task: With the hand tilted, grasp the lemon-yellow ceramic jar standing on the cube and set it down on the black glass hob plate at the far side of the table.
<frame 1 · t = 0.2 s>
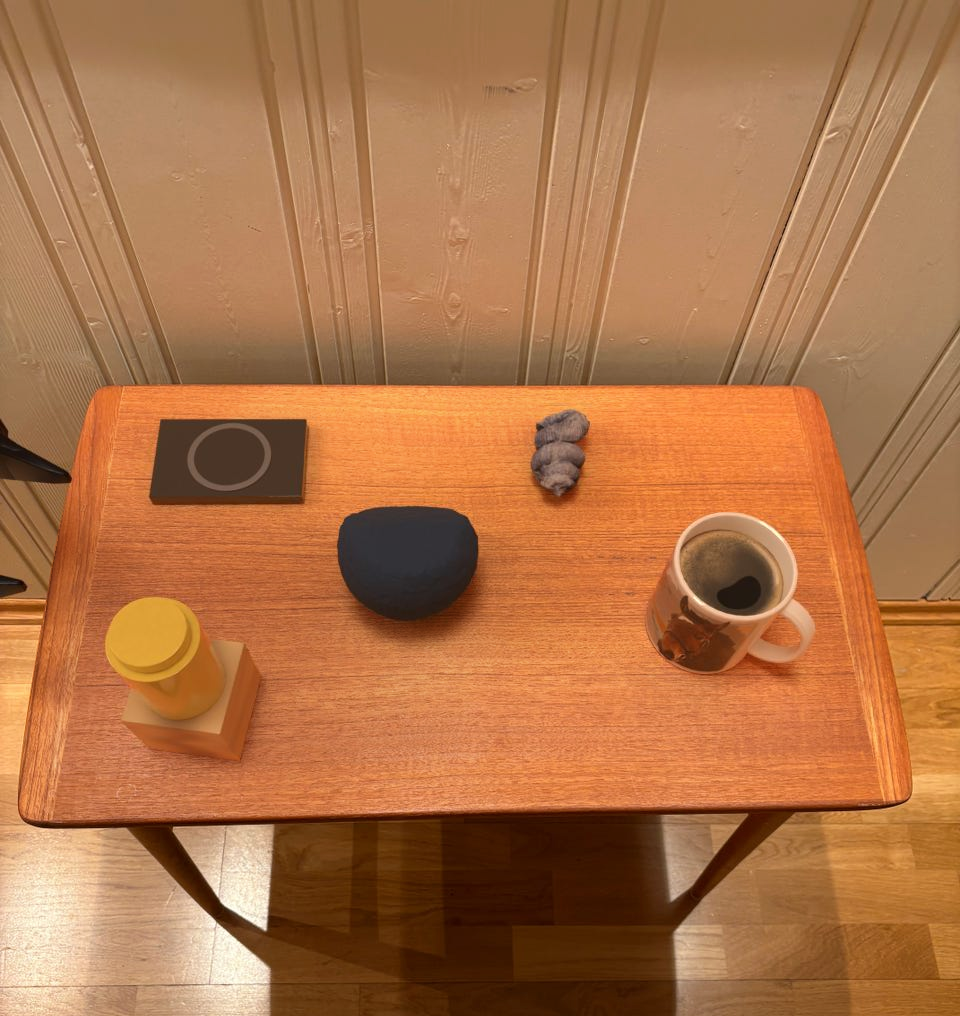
hand: (48, 530, 62), 15 cm above the table, tool horizontal, fingers open, 9 cm apart
jar: (183, 680, 67), point 7 cm above the table, touching cube
mug: (706, 635, 78), on the table
seashell: (557, 467, 85), on the table
decorative stone: (411, 585, 79), on the table
cube: (206, 711, 73), on the table
hob: (232, 464, 83), on the table
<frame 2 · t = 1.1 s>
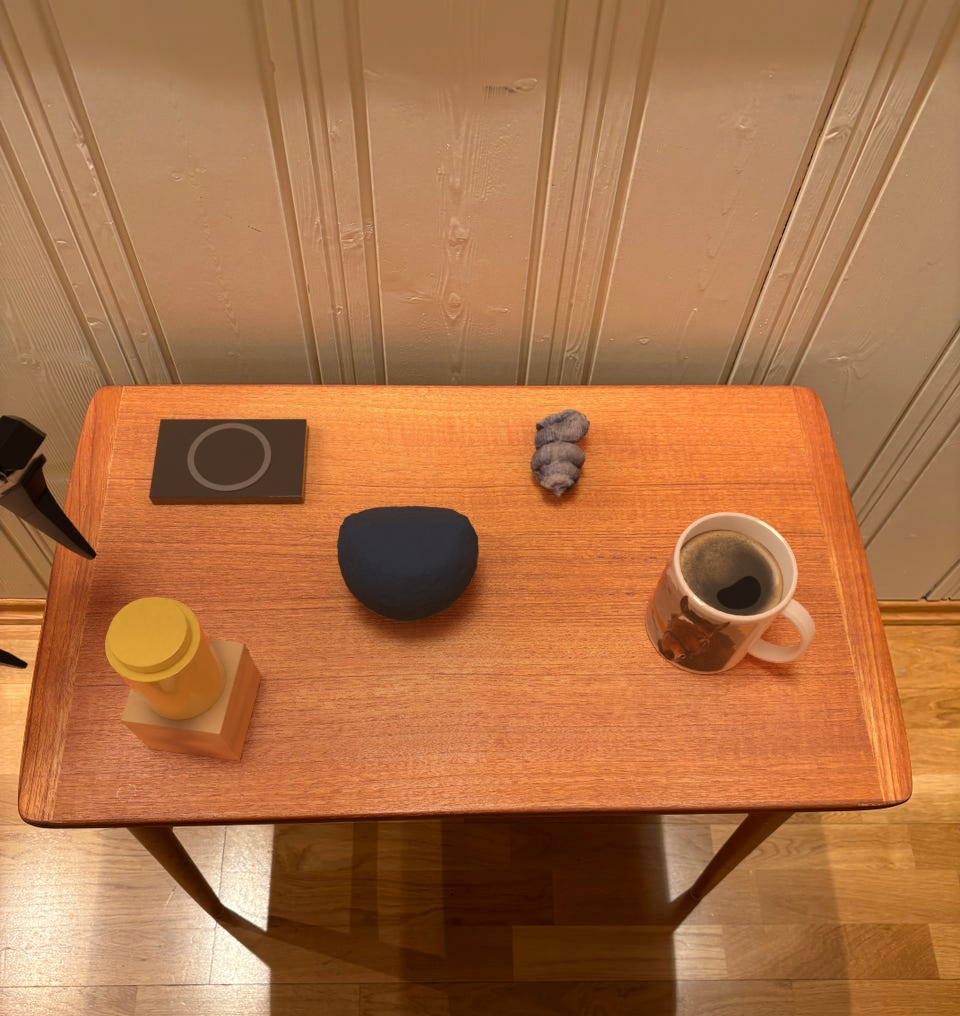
hand: (60, 610, 61), 14 cm above the table, tool tilted 45°, fingers open, 9 cm apart
nothing on the table moved.
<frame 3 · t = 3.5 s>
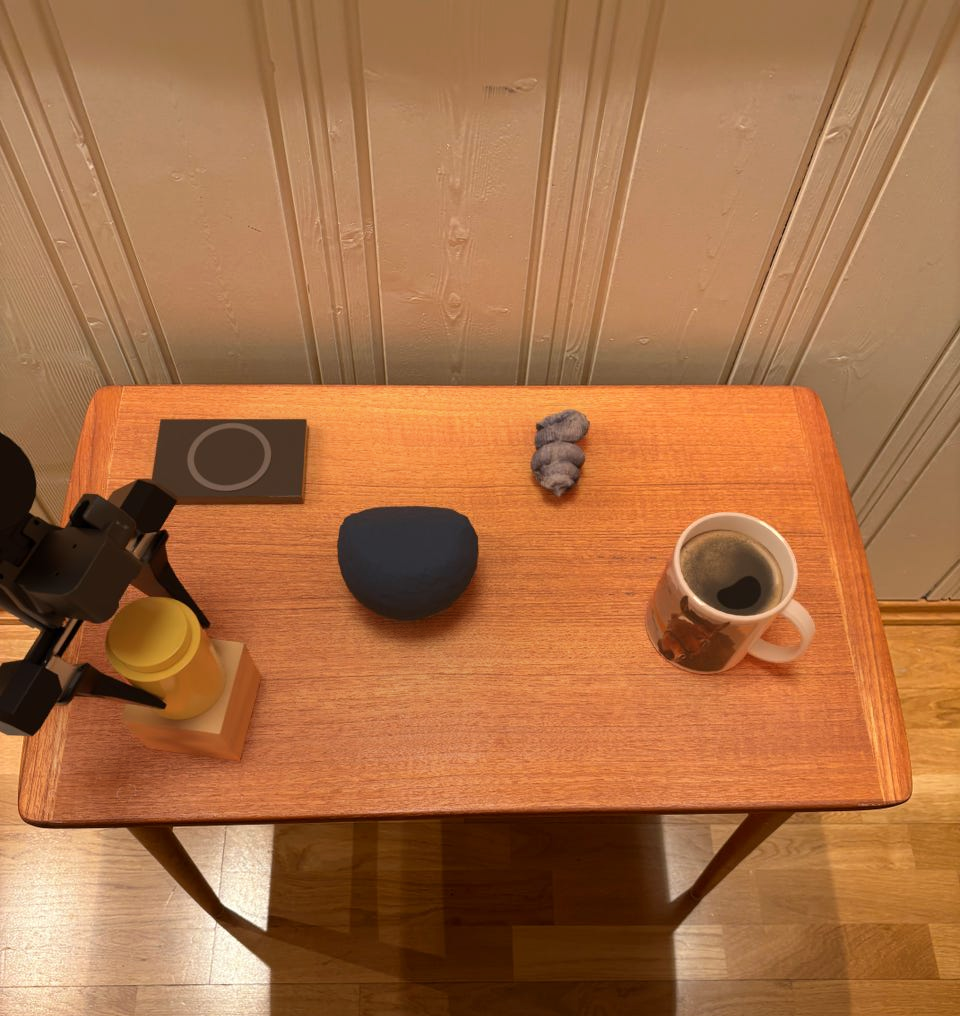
hand: (185, 666, 63), 11 cm above the table, tool tilted 45°, fingers closed on jar, 6 cm apart
jar: (183, 680, 67), point 7 cm above the table, touching cube, gripper
everything else where it was.
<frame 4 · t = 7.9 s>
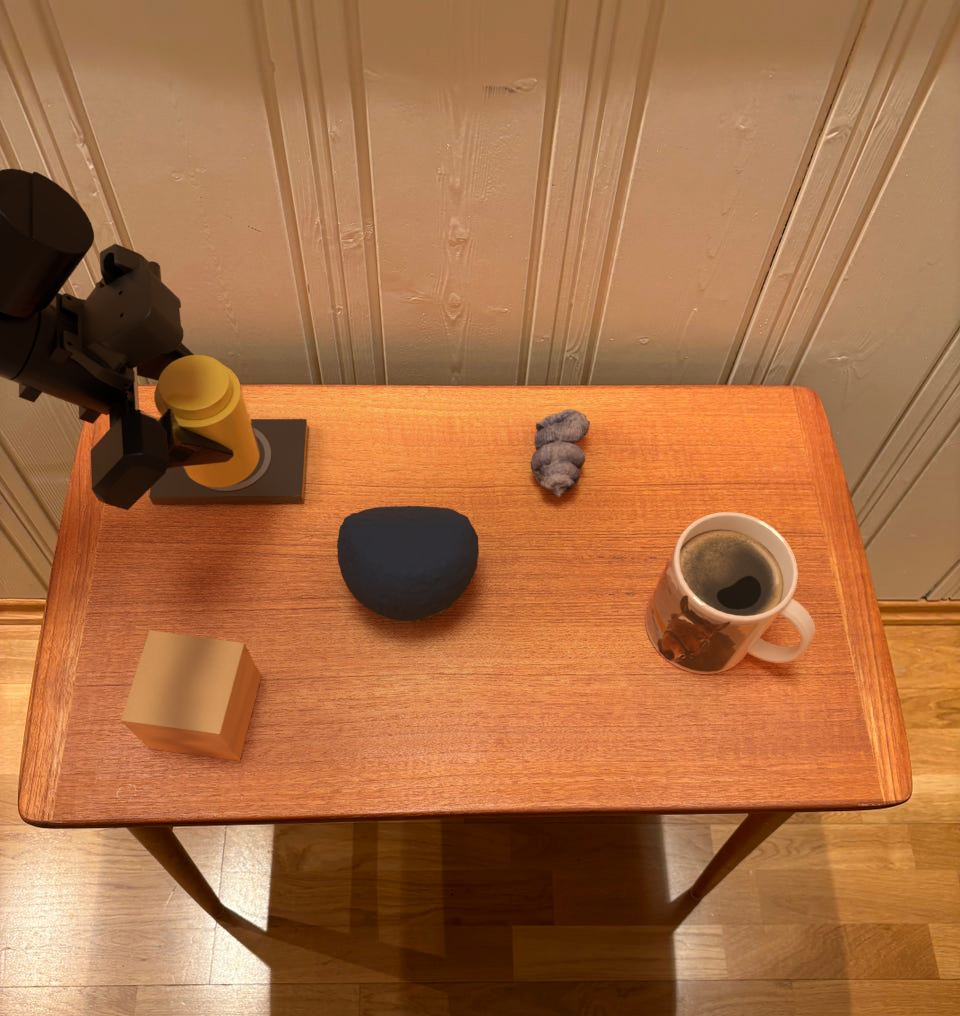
hand: (227, 422, 69), 13 cm above the table, tool tilted 45°, fingers closed on jar, 6 cm apart
jar: (220, 455, 72), point 9 cm above the table, touching gripper
everything else where it was.
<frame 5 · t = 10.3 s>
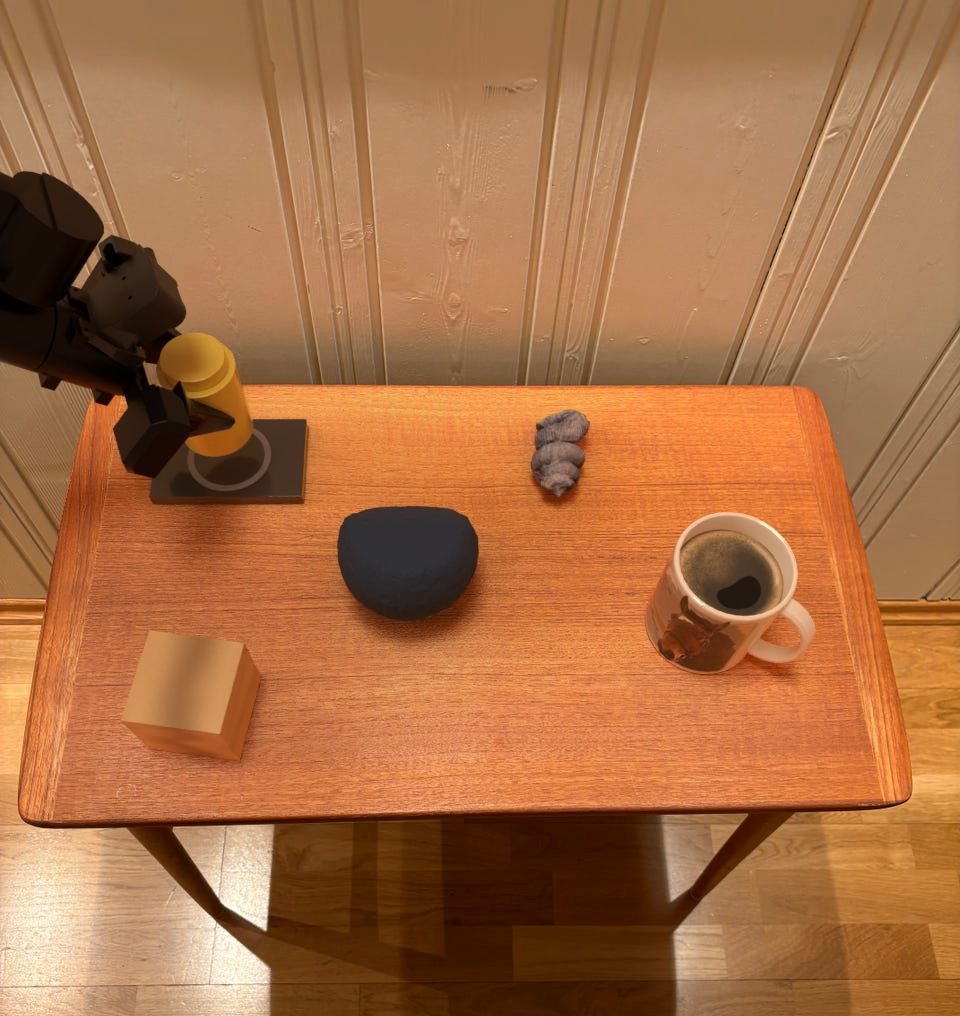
hand: (222, 394, 75), 10 cm above the table, tool tilted 45°, fingers closed on jar, 6 cm apart
jar: (217, 427, 78), point 6 cm above the table, touching gripper
everything else where it was.
when the fingers open (5 cm above the table, at t = 12.1 s): jar stays where it is, resting on hob.
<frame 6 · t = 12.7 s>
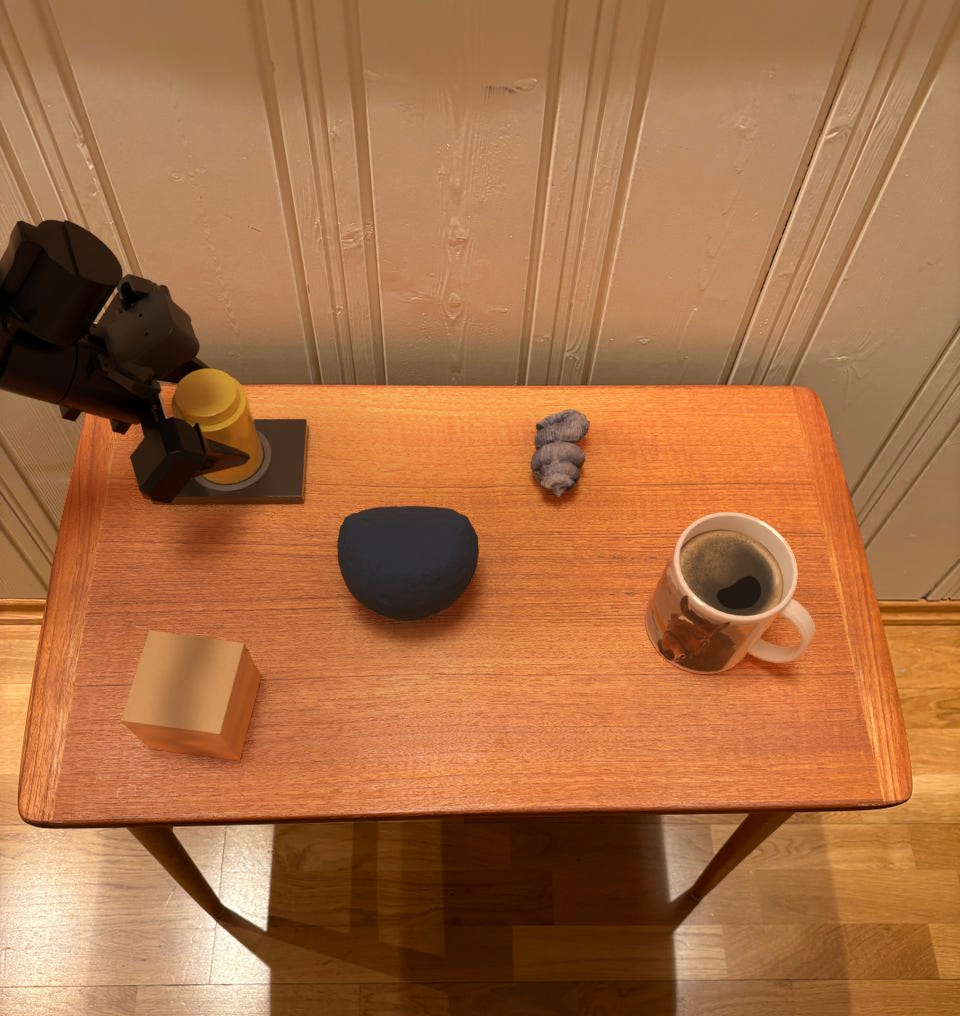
hand: (233, 420, 78), 6 cm above the table, tool tilted 45°, fingers open, 9 cm apart
jar: (229, 456, 82), point 1 cm above the table, touching hob
everything else where it was.
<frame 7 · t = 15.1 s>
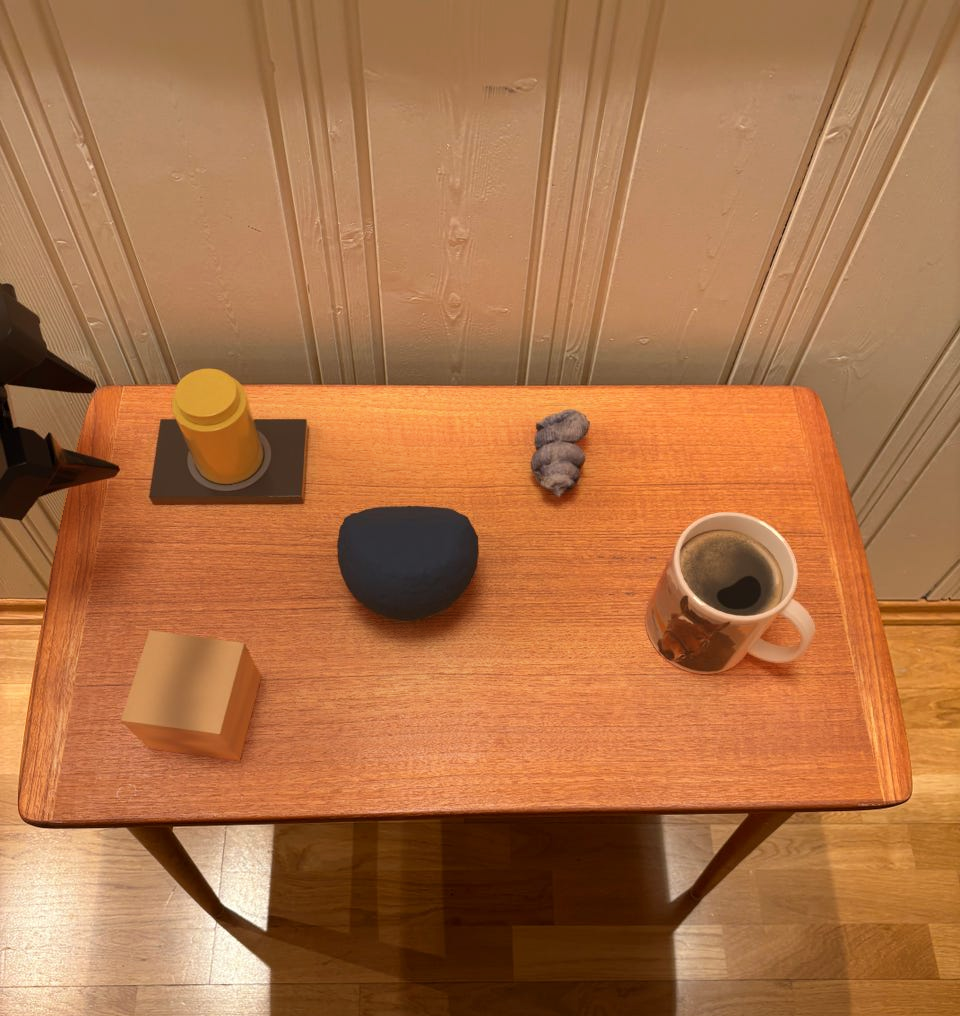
hand: (105, 429, 73), 10 cm above the table, tool tilted 45°, fingers open, 9 cm apart
nothing on the table moved.
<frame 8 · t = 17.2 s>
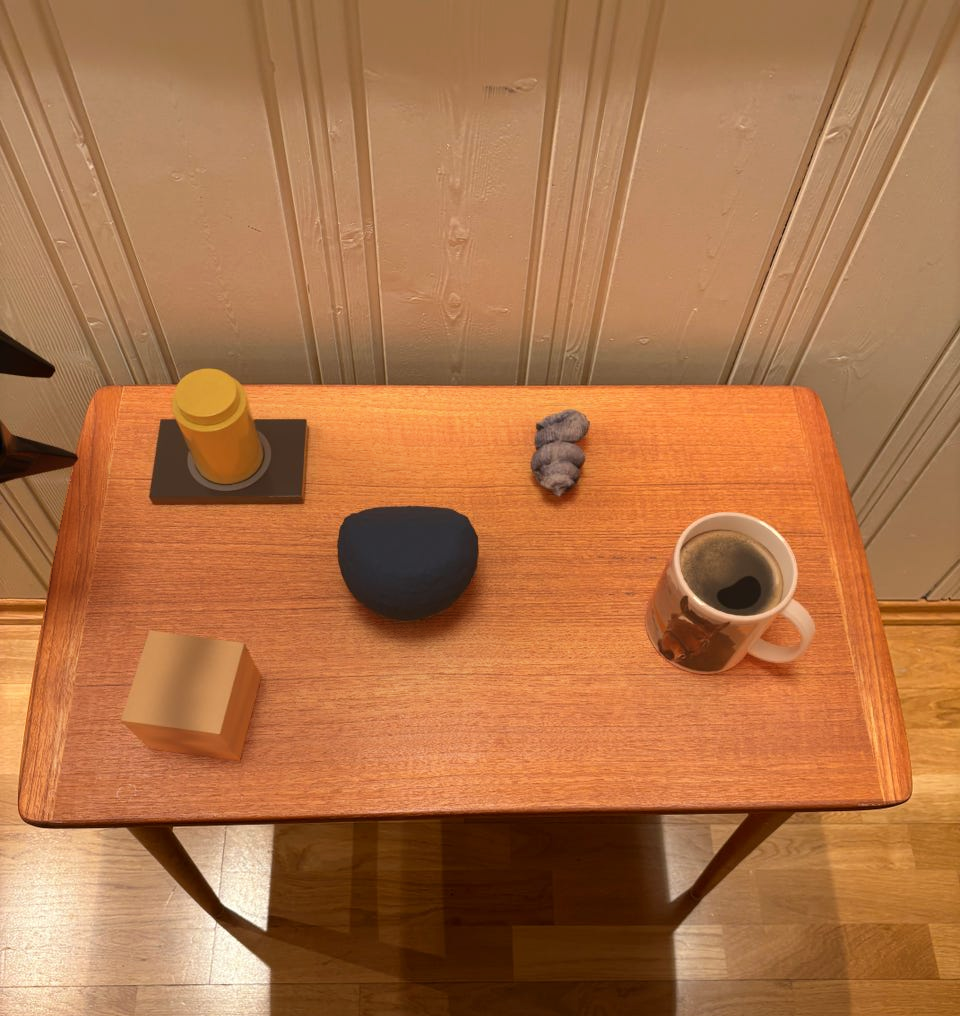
hand: (64, 415, 68), 14 cm above the table, tool tilted 45°, fingers open, 9 cm apart
nothing on the table moved.
at the end: jar inside the target area on the hob (0.0 cm from its centre), point 1.3 cm above the hob's base; jar tilted 0° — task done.
